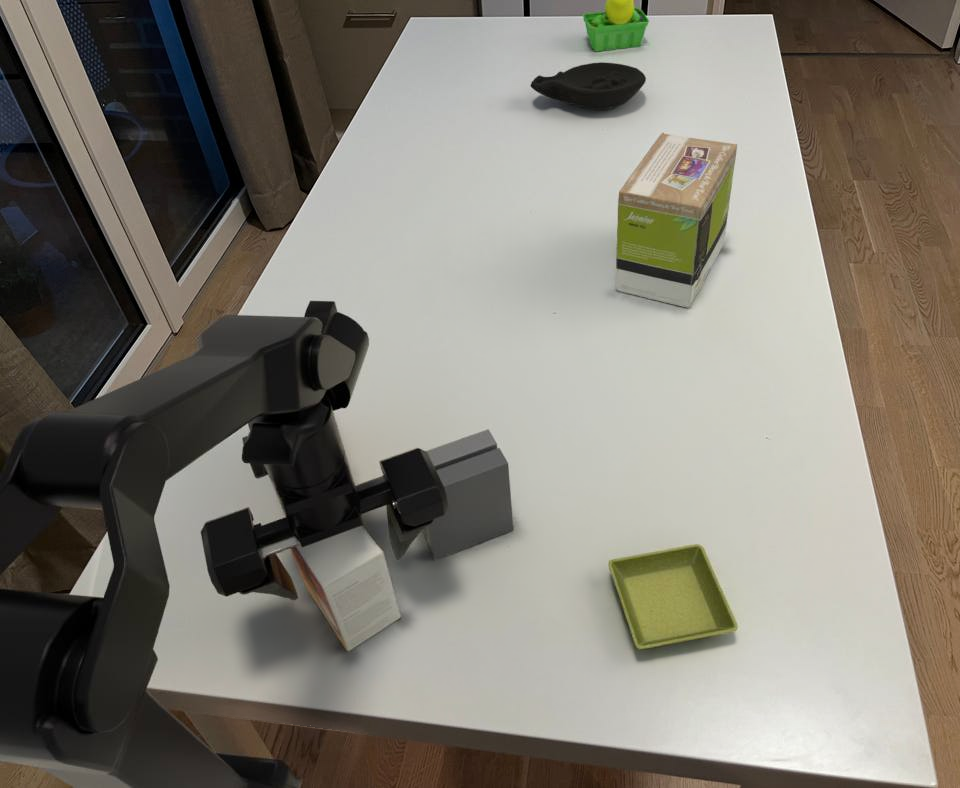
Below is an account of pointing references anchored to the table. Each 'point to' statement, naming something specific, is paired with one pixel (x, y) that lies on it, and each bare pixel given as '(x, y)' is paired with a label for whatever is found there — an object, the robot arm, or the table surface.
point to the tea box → (673, 218)
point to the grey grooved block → (470, 494)
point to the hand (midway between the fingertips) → (346, 575)
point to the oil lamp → (592, 85)
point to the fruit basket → (616, 26)
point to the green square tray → (671, 596)
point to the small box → (349, 584)
